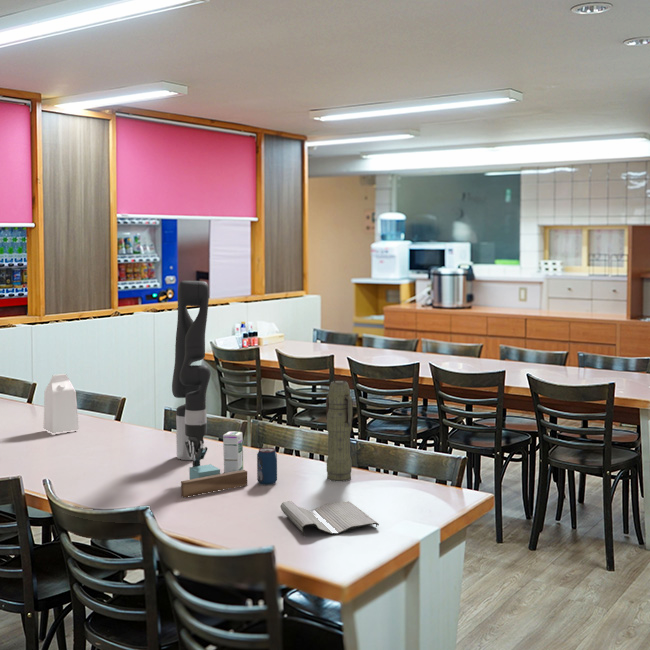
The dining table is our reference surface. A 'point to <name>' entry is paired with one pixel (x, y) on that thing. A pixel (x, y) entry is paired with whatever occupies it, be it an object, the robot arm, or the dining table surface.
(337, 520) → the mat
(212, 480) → the board
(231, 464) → the syrup box
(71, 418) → the milk
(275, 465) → the soda can
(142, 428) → the dining table surface
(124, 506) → the dining table surface
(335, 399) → the thermos
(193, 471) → the block
